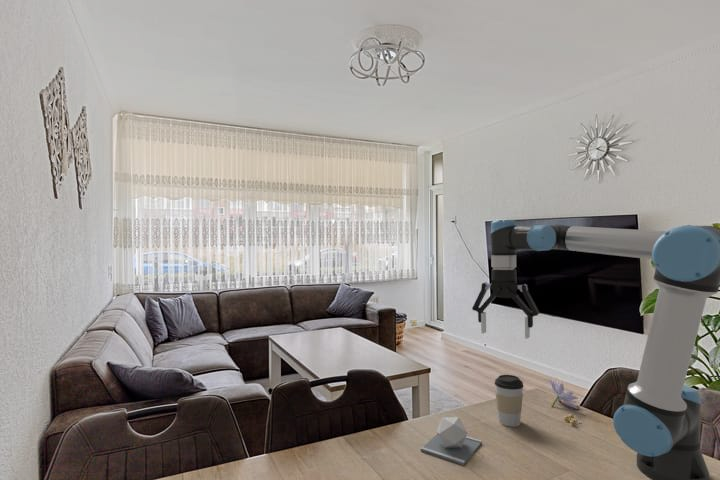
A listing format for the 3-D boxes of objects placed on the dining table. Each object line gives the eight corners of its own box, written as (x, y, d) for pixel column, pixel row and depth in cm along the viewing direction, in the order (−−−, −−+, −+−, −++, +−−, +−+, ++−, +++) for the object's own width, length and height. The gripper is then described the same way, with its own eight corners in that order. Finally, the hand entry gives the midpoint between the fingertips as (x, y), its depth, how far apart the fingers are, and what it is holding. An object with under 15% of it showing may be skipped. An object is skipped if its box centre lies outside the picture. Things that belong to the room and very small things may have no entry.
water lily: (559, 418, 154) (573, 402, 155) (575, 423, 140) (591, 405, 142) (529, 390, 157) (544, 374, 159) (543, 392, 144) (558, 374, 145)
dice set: (572, 428, 134) (572, 422, 134) (560, 422, 139) (560, 416, 139) (584, 426, 136) (584, 420, 136) (571, 419, 140) (571, 413, 140)
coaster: (481, 443, 124) (481, 440, 124) (463, 465, 113) (463, 462, 113) (441, 431, 132) (441, 429, 132) (420, 451, 120) (420, 448, 120)
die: (461, 458, 116) (475, 426, 119) (433, 441, 118) (448, 409, 120) (454, 454, 124) (468, 423, 127) (428, 438, 125) (443, 408, 128)
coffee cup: (489, 419, 140) (488, 374, 140) (509, 413, 144) (508, 370, 144) (509, 430, 132) (508, 383, 132) (530, 424, 136) (529, 378, 136)
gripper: (548, 268, 128) (549, 337, 129) (469, 266, 143) (470, 328, 143) (543, 270, 122) (544, 342, 122) (461, 268, 136) (463, 332, 137)
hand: (505, 335), depth 133 cm, fingers open, 13 cm apart
